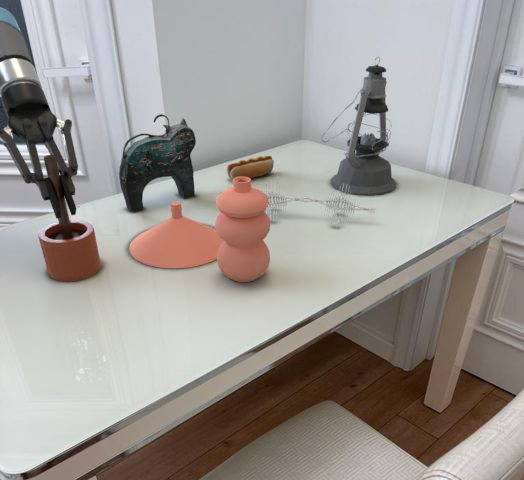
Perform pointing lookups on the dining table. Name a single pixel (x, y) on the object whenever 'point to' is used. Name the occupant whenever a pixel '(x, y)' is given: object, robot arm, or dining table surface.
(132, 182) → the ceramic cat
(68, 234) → the pestle
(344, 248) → the dining table surface
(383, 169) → the lantern
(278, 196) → the test tube brush
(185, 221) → the ceramic vessels
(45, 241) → the jar
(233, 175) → the food
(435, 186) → the dining table surface
